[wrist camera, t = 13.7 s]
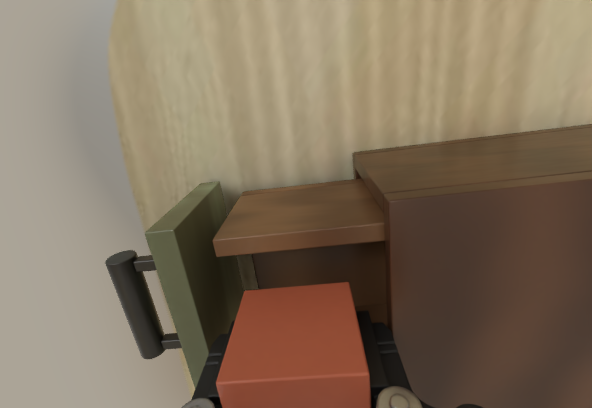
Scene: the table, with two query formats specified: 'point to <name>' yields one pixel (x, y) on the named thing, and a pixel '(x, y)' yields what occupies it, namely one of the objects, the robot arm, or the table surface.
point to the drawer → (265, 252)
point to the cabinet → (490, 266)
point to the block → (295, 351)
